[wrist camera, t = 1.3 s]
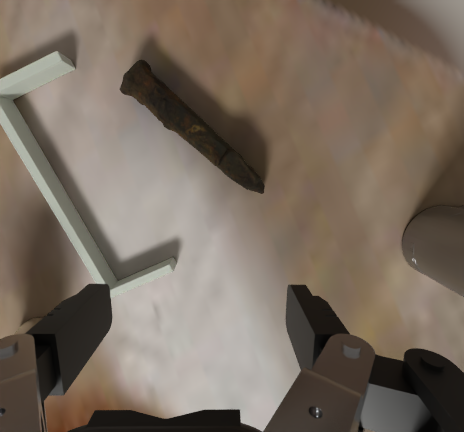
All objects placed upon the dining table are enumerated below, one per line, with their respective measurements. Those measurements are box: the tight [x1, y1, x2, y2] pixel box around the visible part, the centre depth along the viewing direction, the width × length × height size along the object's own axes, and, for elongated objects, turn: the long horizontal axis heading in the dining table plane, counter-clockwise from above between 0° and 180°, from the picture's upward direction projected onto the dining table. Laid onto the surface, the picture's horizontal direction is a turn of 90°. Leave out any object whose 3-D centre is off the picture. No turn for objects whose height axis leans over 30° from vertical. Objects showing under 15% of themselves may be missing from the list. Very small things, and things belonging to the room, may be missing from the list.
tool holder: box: [0, 51, 177, 298], centre depth 31 cm, size 9×26×2 cm, turn 24°
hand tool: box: [120, 60, 265, 194], centre depth 29 cm, size 19×4×5 cm, turn 46°
